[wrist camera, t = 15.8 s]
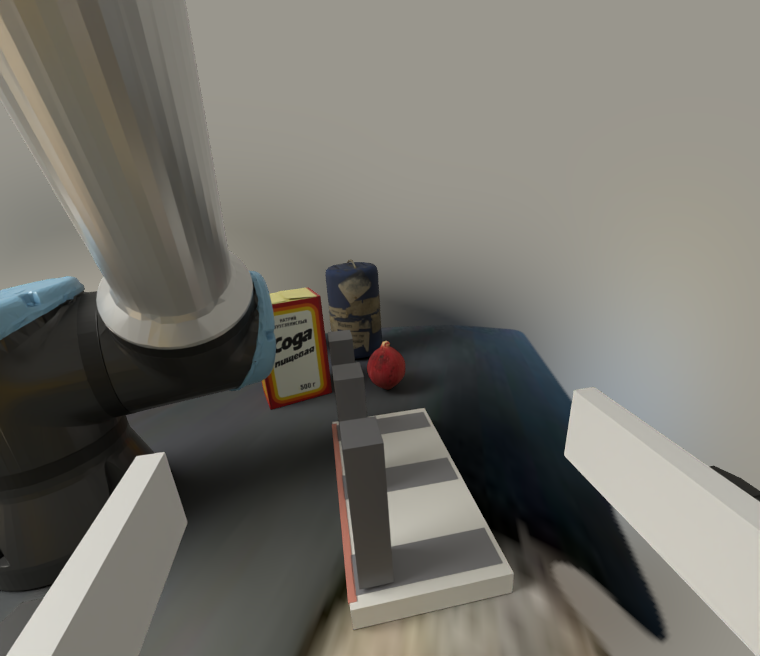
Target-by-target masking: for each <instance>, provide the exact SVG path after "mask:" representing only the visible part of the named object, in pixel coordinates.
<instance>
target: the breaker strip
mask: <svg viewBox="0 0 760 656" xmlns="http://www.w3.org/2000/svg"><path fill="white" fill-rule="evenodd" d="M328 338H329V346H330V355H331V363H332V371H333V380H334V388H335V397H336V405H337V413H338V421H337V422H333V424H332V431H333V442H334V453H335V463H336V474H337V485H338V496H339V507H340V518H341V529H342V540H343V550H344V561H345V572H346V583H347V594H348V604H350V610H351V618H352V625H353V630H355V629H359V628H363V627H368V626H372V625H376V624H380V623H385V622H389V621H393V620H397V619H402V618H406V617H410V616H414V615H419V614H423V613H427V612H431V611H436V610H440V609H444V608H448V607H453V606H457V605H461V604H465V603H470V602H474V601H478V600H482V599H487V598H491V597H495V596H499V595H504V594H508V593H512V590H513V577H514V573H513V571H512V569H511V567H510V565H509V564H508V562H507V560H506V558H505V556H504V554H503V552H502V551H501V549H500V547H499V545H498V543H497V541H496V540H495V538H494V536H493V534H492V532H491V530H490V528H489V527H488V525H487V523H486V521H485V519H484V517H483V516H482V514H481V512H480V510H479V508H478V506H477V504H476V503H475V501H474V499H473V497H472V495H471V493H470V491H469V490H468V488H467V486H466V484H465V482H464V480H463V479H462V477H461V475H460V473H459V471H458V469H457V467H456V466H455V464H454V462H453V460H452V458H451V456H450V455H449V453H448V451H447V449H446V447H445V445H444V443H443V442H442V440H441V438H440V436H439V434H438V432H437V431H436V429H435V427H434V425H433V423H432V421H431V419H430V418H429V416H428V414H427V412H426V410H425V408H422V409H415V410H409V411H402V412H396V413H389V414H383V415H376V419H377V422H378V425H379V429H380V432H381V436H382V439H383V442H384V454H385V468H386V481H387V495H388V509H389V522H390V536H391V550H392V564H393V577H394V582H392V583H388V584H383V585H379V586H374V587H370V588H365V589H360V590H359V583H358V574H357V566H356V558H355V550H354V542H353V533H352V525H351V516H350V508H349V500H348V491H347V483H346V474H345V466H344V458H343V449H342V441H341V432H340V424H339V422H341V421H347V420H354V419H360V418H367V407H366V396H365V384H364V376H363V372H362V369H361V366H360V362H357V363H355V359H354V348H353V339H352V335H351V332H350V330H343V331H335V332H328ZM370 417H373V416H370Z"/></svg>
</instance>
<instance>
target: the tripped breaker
mask: <svg viewBox="0 0 760 656" xmlns="http://www.w3.org/2000/svg"><path fill="white" fill-rule="evenodd" d="M339 424H340V432H341V441H342V449H343V458H344V466H345V474H346V483H347V491H348V500H349V508H350V516H351V525H352V533H353V542H354V550H355V558H356V566H357V574H358V583H359V590H360V589H365V588H370V587H374V586H379V585H383V584H388V583H392V582H394V577H393V564H392V550H391V536H390V522H389V509H388V495H387V481H386V468H385V454H384V442H383V439H382V436H381V432H380V429H379V425H378V422H377V419H376V416H373V417H367V418H360V419H354V420H347V421H341V422H339Z"/></svg>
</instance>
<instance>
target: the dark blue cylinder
mask: <svg viewBox="0 0 760 656" xmlns="http://www.w3.org/2000/svg"><path fill="white" fill-rule="evenodd" d="M349 262H352V263H349ZM326 283H327V293H328V302H329V313H330V324H331V332H335V331H343V330H350V332H351V335H352V339H353V348H354V359H355V358H364V357H369V356H371V355H372V353H373V352H374V351H375V350H377V349H378V348H380V346H381V345H382V334H381V318H380V299H379V285H378V271H377V267H376V266H375V265H374V264H371V263H364V262H353V261H352V260H348V262H347V263H343V264H338V265H333V266H331V267H329V268H328V269H327V270H326Z"/></svg>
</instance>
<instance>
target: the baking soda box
mask: <svg viewBox="0 0 760 656" xmlns="http://www.w3.org/2000/svg"><path fill="white" fill-rule="evenodd" d="M270 298H271V302H272V308H273V314H274V321H275V329H274V334H275V338H276V355H275V362H274V366H273V369H272V371H271V373H270V375H269V376H268V377H267V378H266V379H264V380H262V385H263V390H264V393H265V396H266V398H267V401H268V404H269V407H270V409H271V410H272V409H275V408H279V407H282V406H286V405H290V404H293V403H297V402H300V401H304V400H307V399H311V398H315V397H318V396H322V395H325V394H329V393H332V388H331V379H330V371H329V363H328V355H327V347H326V339H325V331H324V322H323V314H322V306H321V298H320V296H319V295H318V294H317V293H315V292H314V291H313V290H311V289H310V288H301V289H294V290H286V291H279V292H278V293H271V294H270Z"/></svg>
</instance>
